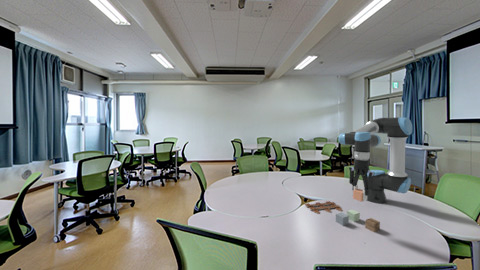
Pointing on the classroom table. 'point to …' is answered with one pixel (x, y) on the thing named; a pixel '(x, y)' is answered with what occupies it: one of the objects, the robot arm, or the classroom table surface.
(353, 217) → the sage block
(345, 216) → the slate block
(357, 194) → the terracotta block
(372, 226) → the walnut block
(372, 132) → the robot arm
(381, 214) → the classroom table surface
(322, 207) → the decorative fence
